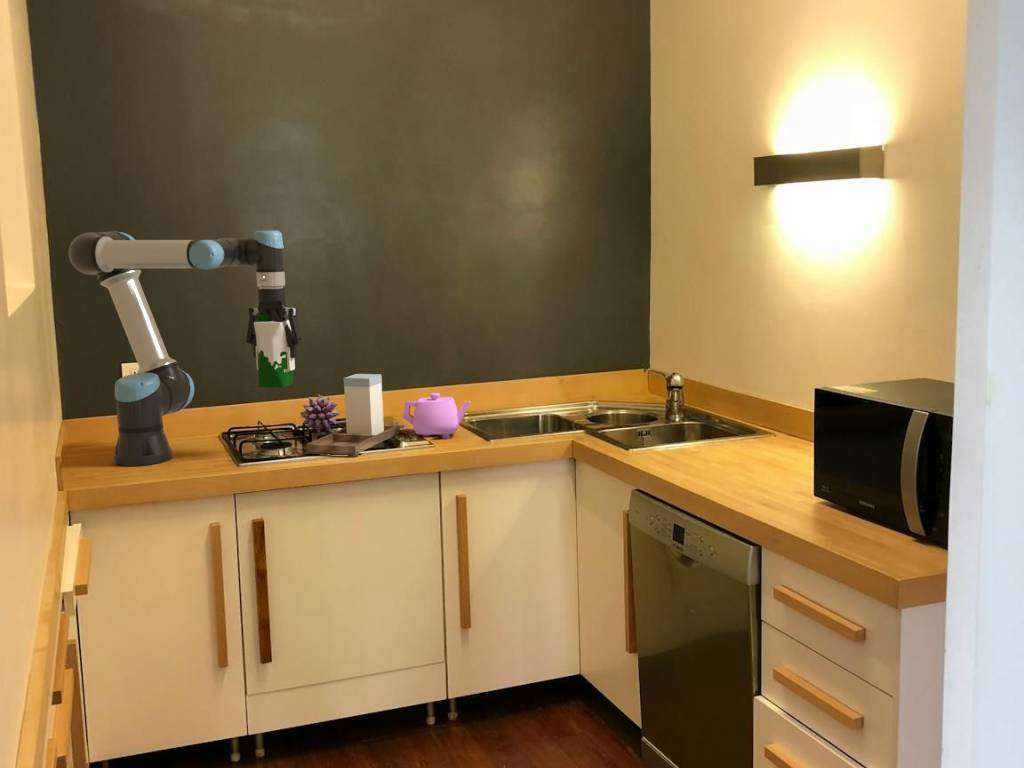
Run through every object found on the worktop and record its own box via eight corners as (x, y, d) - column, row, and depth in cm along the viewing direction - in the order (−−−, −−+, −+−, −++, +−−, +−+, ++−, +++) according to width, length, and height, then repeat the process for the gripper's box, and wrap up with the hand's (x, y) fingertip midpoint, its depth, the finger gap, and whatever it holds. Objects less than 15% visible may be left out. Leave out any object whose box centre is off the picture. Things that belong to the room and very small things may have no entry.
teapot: (401, 441, 307) (399, 397, 305) (406, 432, 319) (404, 390, 317) (470, 439, 306) (468, 396, 304) (473, 430, 318) (471, 389, 316)
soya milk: (267, 382, 299) (263, 311, 295) (298, 383, 297) (294, 311, 294) (254, 387, 290) (250, 314, 287) (285, 388, 288) (281, 314, 285)
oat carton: (347, 439, 307) (343, 378, 305) (359, 433, 315) (356, 373, 312) (372, 440, 305) (369, 378, 302) (384, 434, 312) (381, 374, 310)
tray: (306, 454, 292) (306, 444, 292) (354, 433, 319) (354, 423, 319) (355, 457, 287) (355, 446, 287) (400, 435, 315) (399, 425, 314)
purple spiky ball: (293, 436, 318) (291, 397, 316) (314, 428, 329) (312, 390, 327) (327, 438, 314) (325, 398, 312) (347, 430, 325) (345, 392, 323)
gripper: (229, 288, 289) (234, 370, 293) (299, 288, 282) (303, 372, 286) (244, 286, 296) (249, 366, 300) (313, 286, 289) (317, 368, 293)
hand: (275, 369), depth 293 cm, fingers closed on soya milk, 9 cm apart
